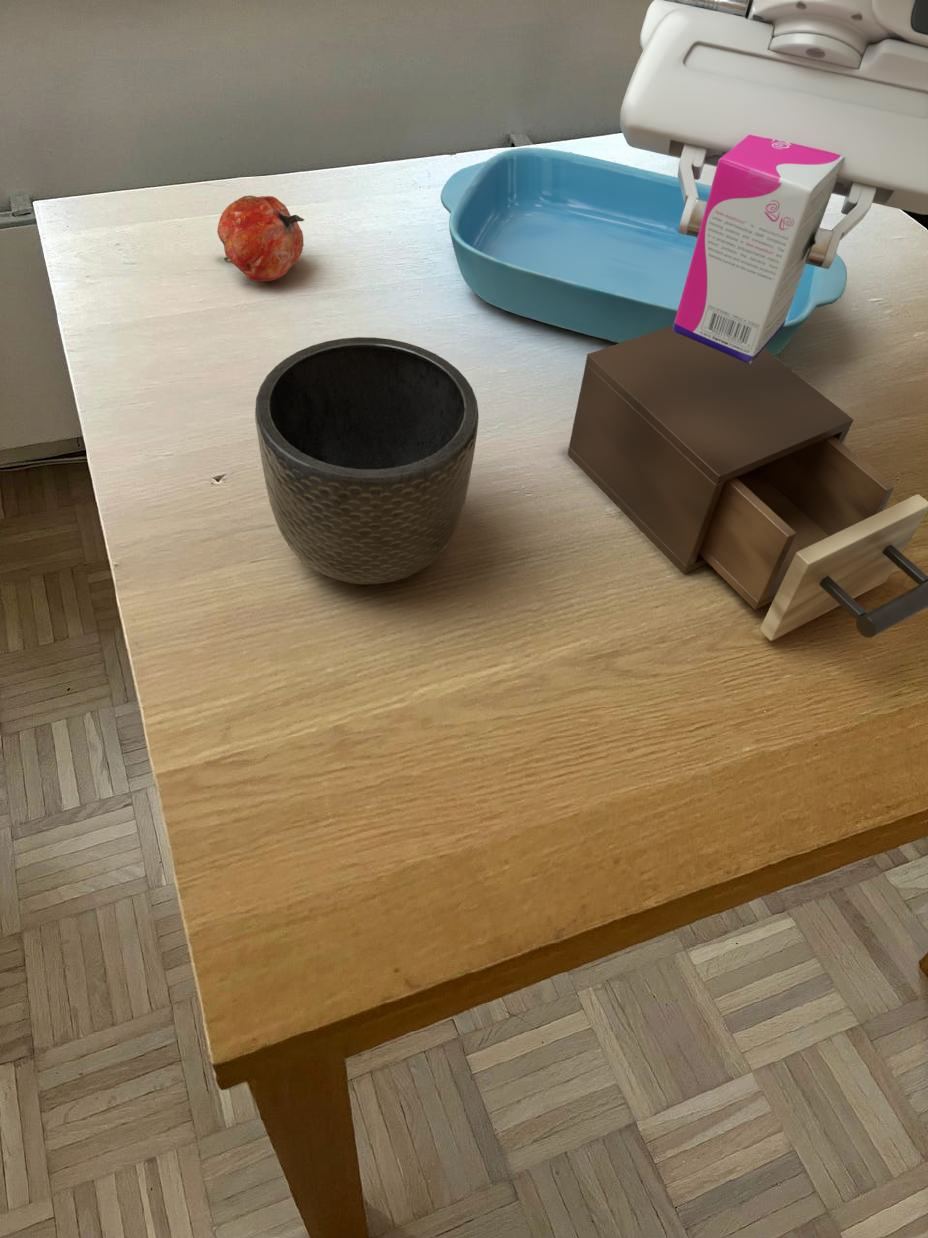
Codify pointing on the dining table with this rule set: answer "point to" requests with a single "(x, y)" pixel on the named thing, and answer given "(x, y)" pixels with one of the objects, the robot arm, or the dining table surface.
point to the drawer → (815, 539)
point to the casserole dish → (589, 244)
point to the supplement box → (754, 243)
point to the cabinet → (688, 430)
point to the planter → (366, 455)
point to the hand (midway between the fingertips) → (754, 248)
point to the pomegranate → (260, 237)
